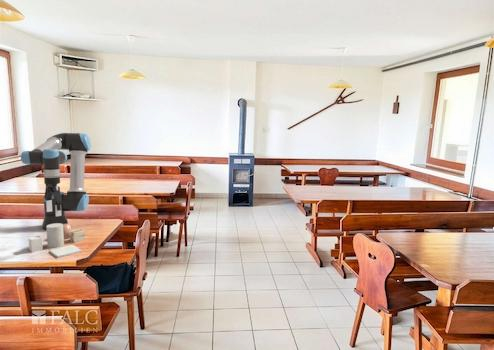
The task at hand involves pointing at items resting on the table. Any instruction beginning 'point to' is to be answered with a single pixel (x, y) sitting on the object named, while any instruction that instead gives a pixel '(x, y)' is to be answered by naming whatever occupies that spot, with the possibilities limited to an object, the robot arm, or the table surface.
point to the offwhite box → (35, 244)
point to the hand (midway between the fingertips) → (53, 213)
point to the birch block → (77, 235)
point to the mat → (65, 251)
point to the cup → (55, 235)
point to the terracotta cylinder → (66, 230)
